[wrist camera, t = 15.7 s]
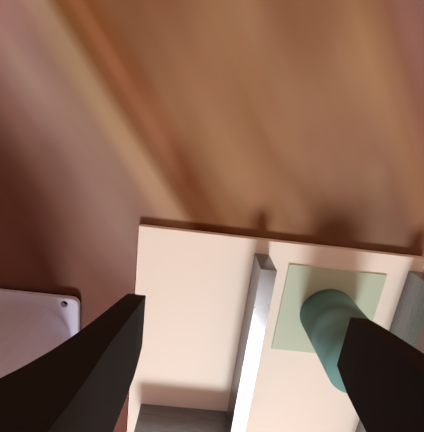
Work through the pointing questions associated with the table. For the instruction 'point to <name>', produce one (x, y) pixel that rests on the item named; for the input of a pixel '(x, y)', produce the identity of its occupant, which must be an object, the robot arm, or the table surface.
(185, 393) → the maze board
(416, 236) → the table surface
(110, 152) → the table surface
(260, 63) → the table surface
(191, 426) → the guide walls
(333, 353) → the peg
